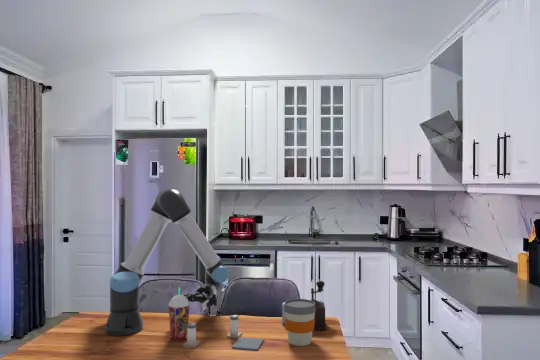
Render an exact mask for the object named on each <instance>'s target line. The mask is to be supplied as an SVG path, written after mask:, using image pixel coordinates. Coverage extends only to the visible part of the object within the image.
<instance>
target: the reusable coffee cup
mask: <svg viewBox="0 0 540 360" xmlns="http://www.w3.org/2000/svg"><path fill="white" fill-rule="evenodd" d="M284 302H285V304H284V311H285V324H284V325H285V330H286V331H287V332H286V333H287V339H288V340H287V341H288V343H289V344H290V345H292V346H298V347H300V346H301V347H302V346H308V345H310V344H312V341H313V340H312V339H313V338H312V337H313V331H315V330H314V324H315V317H314V315H315V311H316V308H315V302H313V301H311V299H306V298H305V299H304V298H291V299H288V300H285V301H284Z"/></svg>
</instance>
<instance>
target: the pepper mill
mask: <svg viewBox="0 0 540 360" xmlns="http://www.w3.org/2000/svg"><path fill="white" fill-rule="evenodd" d="M315 284H316V287H317V290H315V289H314V288H313V287H312V288H311V289H310V290H311V291H310V293H311V299H310V300H311V301H313V302H315V308H316V311H315V315H314V317H315V324H314V330H313V331H326V330H327V328H326V327H327V323H326V306H325V305H326V304H325V303H324V301H322V300H320V299H319V300H317V299H315V297H314V295H315V294H319V293H322V292H324V287H325V285H326V284H325V282H324V281H323V280H318V281H316V283H315ZM314 290H315V291H314Z"/></svg>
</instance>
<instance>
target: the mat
mask: <svg viewBox="0 0 540 360" xmlns="http://www.w3.org/2000/svg"><path fill="white" fill-rule="evenodd" d="M264 340H265V339H264V338H255V337H254V338H253V337H241V336H240V337H239V338H238V339H236V341H235V342H234V343H233V344H232V346H231V349H235V350H247V351H259V349H260V348H261V346H262V344H263V342H264Z"/></svg>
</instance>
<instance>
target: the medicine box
mask: <svg viewBox="0 0 540 360" xmlns="http://www.w3.org/2000/svg"><path fill="white" fill-rule="evenodd" d="M285 302H286V301H283V302H282V304H281V317H282V318H281V320H282V321H281V324H282V325H285V311H284V304H285Z"/></svg>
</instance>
